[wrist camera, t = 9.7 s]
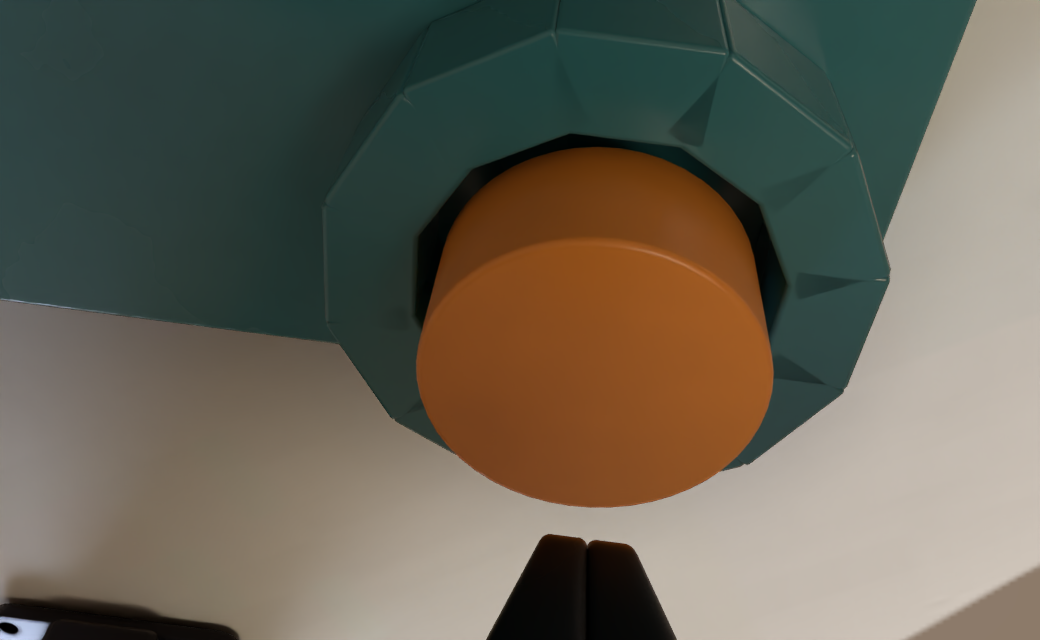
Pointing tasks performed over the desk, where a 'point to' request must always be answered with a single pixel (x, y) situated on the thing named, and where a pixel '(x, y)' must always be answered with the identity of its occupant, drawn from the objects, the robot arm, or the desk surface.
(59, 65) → the teal button platform
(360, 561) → the desk surface
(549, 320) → the orange button
